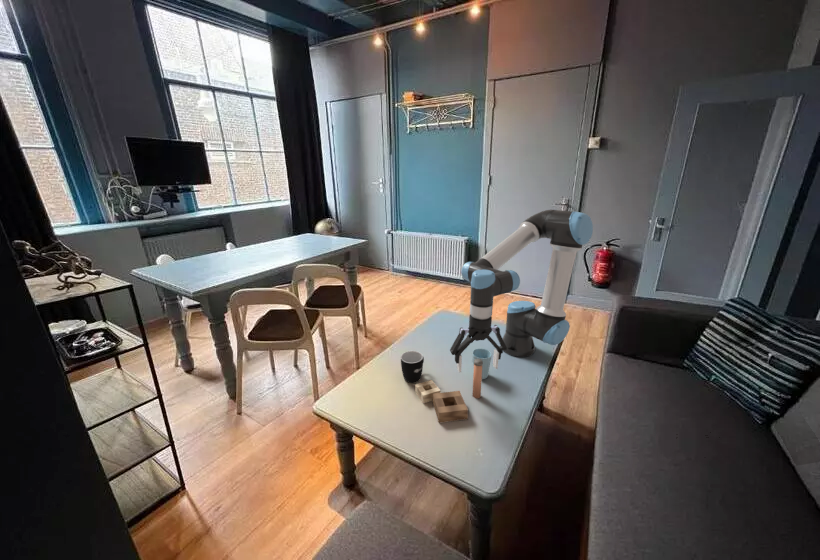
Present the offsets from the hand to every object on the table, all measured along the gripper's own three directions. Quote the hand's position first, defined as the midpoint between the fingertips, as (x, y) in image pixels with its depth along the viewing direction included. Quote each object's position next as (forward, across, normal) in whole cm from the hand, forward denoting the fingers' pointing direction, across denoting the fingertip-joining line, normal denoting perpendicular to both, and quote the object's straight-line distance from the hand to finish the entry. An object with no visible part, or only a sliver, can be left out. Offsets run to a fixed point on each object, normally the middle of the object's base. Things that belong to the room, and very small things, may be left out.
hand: (477, 368), depth 118 cm
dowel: (+12, 0, 0) cm, 12 cm away
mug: (+12, +20, -16) cm, 29 cm away
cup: (+12, -6, -12) cm, 18 cm away
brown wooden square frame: (+12, +12, +6) cm, 18 cm away
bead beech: (+12, +18, -4) cm, 22 cm away
